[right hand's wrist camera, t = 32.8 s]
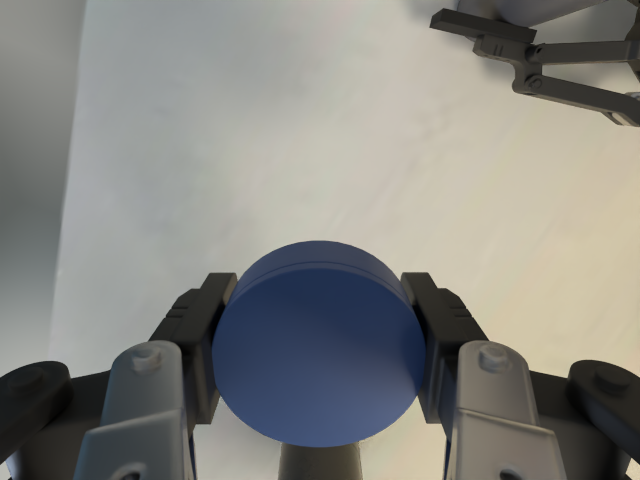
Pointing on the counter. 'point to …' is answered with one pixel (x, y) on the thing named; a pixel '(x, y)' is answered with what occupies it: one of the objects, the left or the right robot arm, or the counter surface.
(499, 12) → the grey cylinder
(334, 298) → the lid
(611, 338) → the counter surface
